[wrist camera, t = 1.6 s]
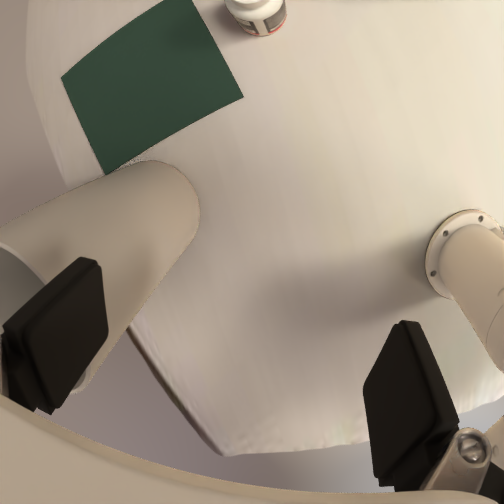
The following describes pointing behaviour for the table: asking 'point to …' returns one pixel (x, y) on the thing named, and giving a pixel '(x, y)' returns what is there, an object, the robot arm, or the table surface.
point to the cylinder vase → (102, 242)
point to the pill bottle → (258, 15)
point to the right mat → (149, 82)
